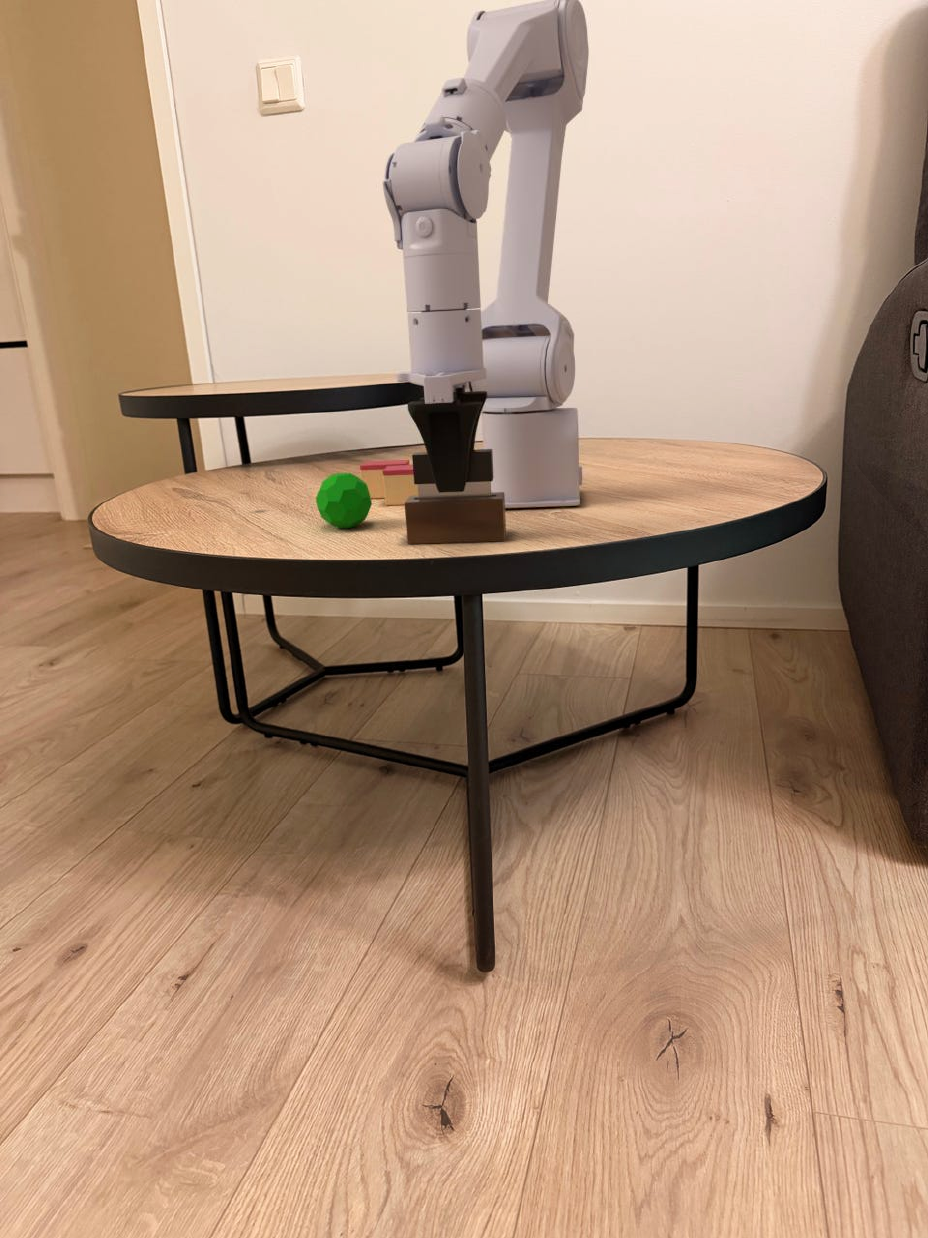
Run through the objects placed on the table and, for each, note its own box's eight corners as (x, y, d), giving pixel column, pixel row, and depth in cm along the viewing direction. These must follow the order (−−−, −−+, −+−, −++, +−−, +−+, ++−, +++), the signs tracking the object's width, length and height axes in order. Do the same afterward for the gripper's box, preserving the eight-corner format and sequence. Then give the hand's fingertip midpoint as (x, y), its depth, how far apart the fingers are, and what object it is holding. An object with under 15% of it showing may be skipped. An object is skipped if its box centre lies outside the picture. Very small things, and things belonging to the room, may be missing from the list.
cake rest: (443, 497, 95) (441, 463, 94) (440, 503, 92) (438, 468, 91) (390, 499, 95) (387, 465, 94) (385, 505, 92) (382, 470, 91)
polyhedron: (310, 532, 82) (304, 479, 80) (330, 520, 86) (325, 470, 85) (363, 532, 81) (358, 478, 79) (381, 520, 85) (376, 469, 84)
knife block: (506, 532, 78) (504, 491, 77) (504, 541, 75) (502, 498, 74) (412, 535, 78) (409, 495, 77) (407, 544, 76) (404, 502, 75)
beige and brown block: (496, 535, 77) (492, 448, 75) (495, 539, 76) (491, 451, 73) (420, 537, 78) (414, 452, 75) (418, 542, 76) (411, 454, 74)
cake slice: (411, 492, 99) (409, 459, 98) (407, 497, 96) (405, 463, 95) (367, 493, 99) (364, 461, 98) (362, 498, 96) (359, 465, 95)
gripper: (406, 314, 78) (418, 473, 82) (376, 314, 65) (391, 505, 69) (489, 309, 78) (496, 470, 82) (476, 308, 64) (485, 501, 68)
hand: (454, 486), depth 75 cm, fingers open, 4 cm apart
